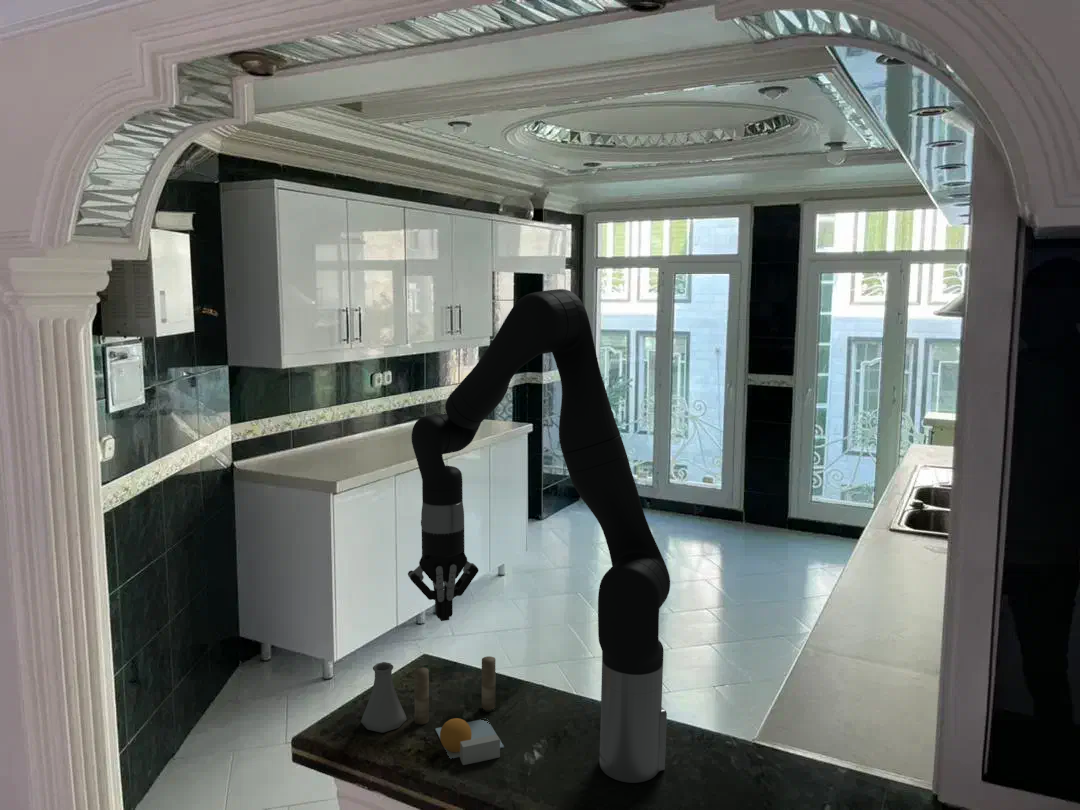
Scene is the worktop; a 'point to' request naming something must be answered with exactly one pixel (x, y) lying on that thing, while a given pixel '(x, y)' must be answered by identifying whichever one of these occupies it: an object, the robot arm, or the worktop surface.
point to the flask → (383, 702)
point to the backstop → (479, 749)
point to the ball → (454, 734)
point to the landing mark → (474, 734)
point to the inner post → (488, 683)
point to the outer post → (421, 695)
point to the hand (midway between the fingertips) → (444, 618)
